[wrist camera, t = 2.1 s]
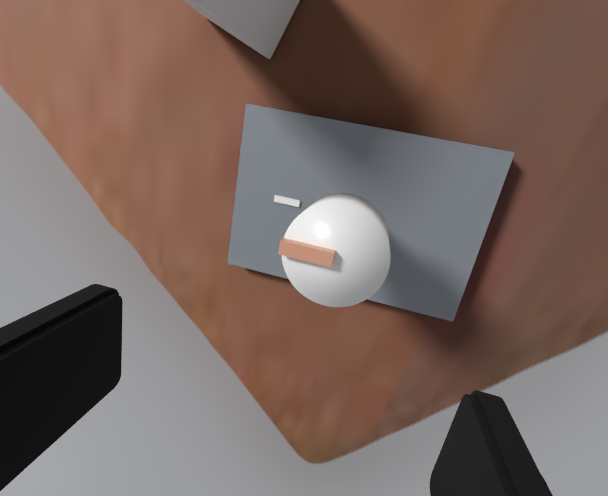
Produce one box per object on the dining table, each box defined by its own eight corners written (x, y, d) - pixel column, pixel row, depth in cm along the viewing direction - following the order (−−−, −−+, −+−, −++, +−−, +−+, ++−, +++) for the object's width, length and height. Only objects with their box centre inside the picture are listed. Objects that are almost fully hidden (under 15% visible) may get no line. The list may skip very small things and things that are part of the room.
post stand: (505, 152, 28) (568, 154, 19) (448, 311, 33) (475, 377, 23) (254, 106, 31) (199, 88, 22) (235, 257, 36) (184, 296, 27)
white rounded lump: (399, 204, 21) (404, 219, 17) (376, 290, 23) (375, 324, 19) (306, 184, 22) (288, 193, 18) (290, 269, 24) (270, 296, 20)
